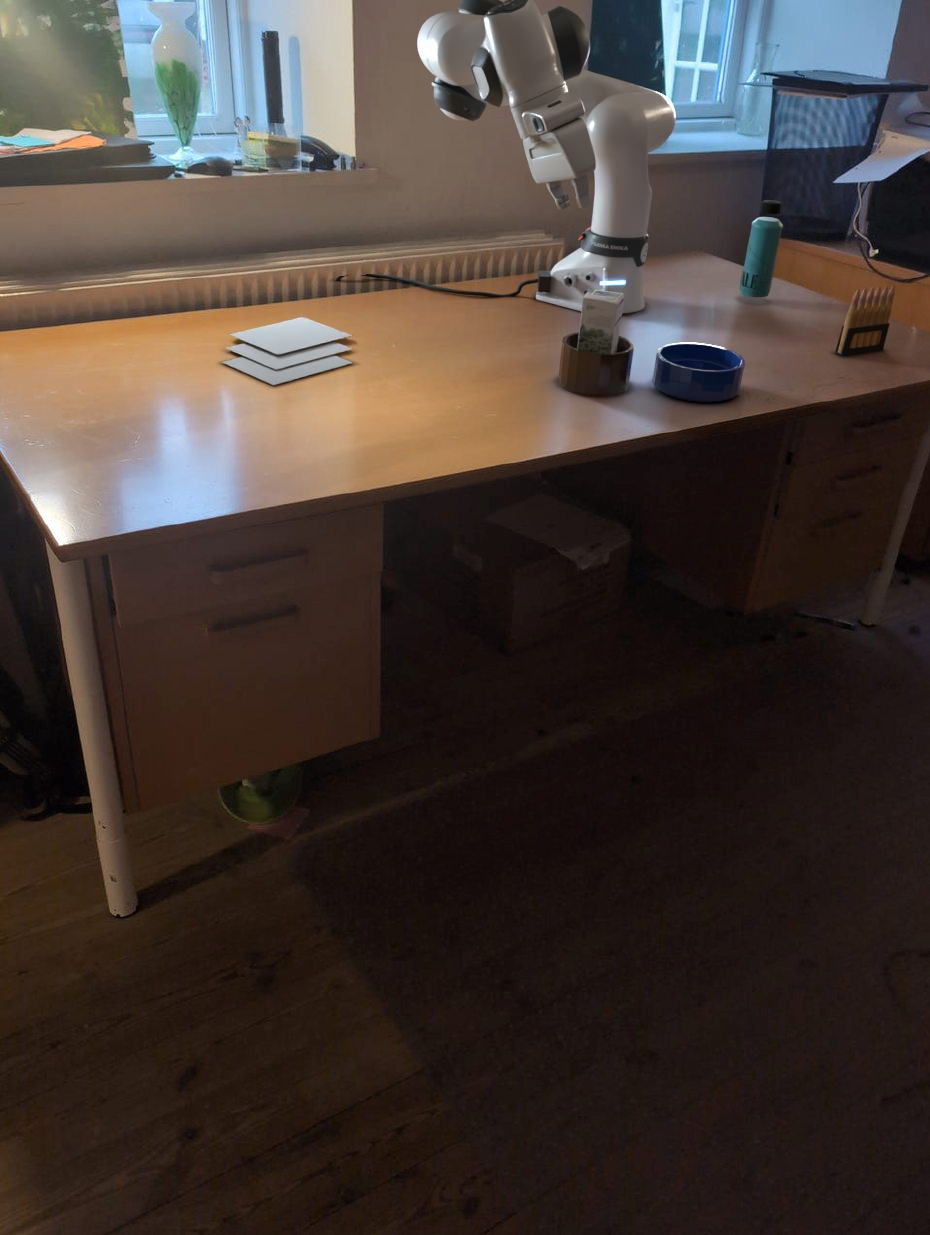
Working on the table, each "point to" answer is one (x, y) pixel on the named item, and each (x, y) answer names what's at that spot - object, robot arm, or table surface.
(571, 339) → the cup
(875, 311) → the ammunition clip
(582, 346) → the syrup box
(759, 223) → the beverage bottle
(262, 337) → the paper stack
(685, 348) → the bowl
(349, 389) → the table surface
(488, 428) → the table surface
